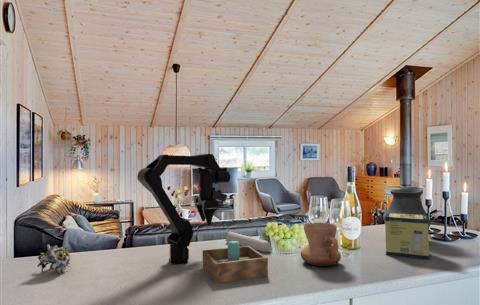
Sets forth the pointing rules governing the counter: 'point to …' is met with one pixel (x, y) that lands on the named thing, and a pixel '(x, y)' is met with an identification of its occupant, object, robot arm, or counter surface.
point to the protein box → (407, 235)
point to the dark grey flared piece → (406, 202)
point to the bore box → (234, 264)
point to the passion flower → (55, 259)
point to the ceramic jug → (321, 244)
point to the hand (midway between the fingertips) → (206, 223)
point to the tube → (248, 241)
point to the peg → (233, 250)
